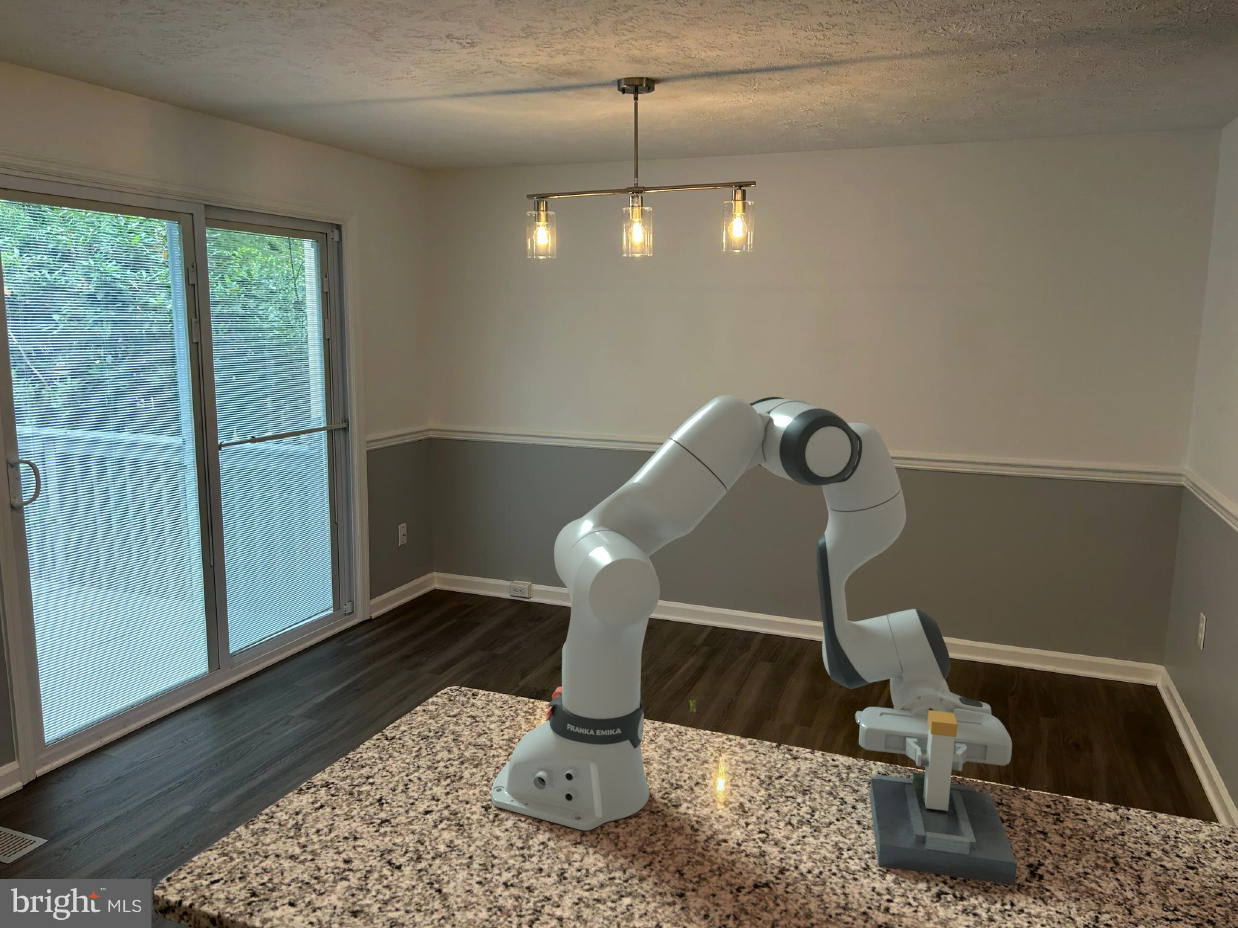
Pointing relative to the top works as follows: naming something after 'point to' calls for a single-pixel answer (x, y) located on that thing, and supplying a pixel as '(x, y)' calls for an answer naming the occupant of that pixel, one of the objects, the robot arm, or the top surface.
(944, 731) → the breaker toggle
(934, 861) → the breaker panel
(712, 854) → the top surface
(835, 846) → the top surface
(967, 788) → the dark grey flat bar
